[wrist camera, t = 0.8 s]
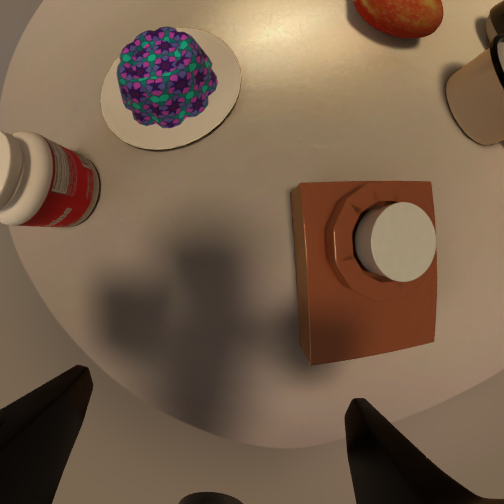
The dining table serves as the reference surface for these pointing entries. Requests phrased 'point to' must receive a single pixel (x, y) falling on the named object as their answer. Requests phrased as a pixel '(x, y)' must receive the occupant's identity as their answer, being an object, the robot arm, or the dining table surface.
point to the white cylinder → (396, 241)
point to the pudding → (170, 88)
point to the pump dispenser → (495, 21)
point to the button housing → (355, 274)
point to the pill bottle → (44, 182)
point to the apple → (402, 16)
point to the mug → (480, 95)
